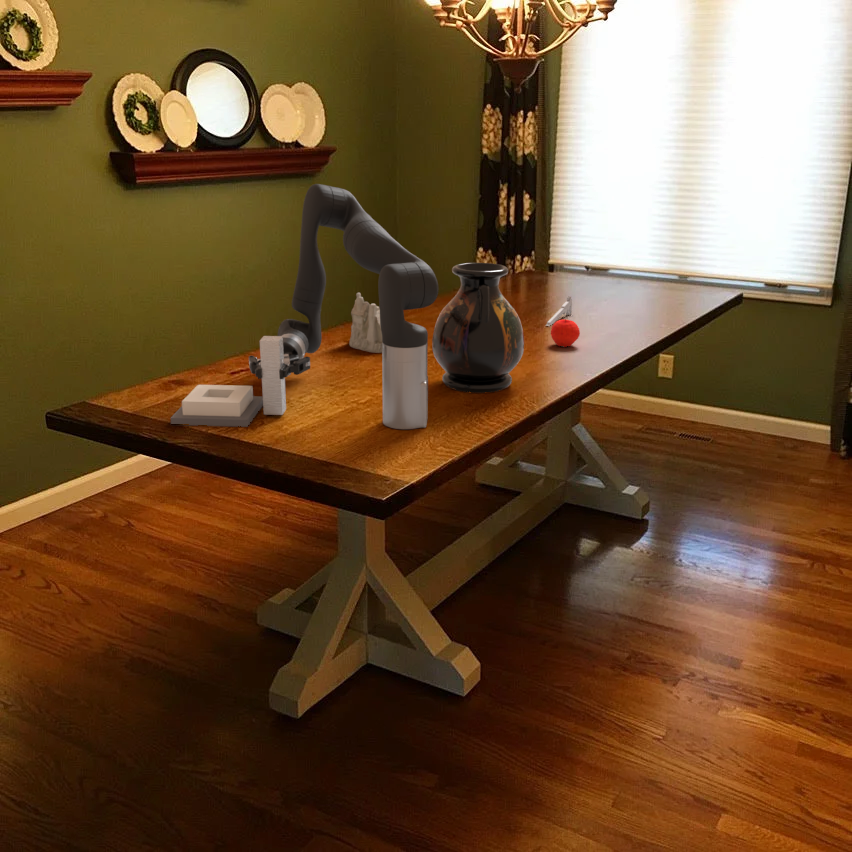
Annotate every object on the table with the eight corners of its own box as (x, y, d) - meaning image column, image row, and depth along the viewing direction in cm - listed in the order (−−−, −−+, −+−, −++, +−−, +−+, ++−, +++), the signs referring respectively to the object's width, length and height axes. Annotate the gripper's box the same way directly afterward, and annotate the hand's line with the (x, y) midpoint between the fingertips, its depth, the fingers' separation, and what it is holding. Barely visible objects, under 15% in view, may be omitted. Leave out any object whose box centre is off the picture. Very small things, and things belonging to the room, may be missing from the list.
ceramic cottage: (374, 354, 247) (375, 297, 243) (338, 344, 259) (338, 290, 255) (419, 349, 256) (421, 294, 252) (383, 339, 268) (384, 287, 264)
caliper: (568, 314, 296) (569, 295, 294) (571, 315, 296) (572, 295, 294) (545, 327, 279) (546, 306, 277) (548, 328, 279) (549, 307, 277)
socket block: (264, 402, 207) (263, 383, 206) (247, 426, 192) (246, 405, 190) (193, 401, 208) (191, 381, 206) (171, 424, 193) (169, 404, 191)
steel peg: (286, 408, 201) (282, 336, 195) (282, 414, 197) (278, 340, 192) (267, 408, 201) (263, 335, 196) (263, 414, 197) (259, 340, 192)
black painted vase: (529, 397, 212) (535, 275, 203) (435, 399, 211) (436, 275, 202) (514, 371, 233) (519, 259, 223) (428, 372, 231) (429, 259, 222)
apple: (584, 347, 256) (586, 320, 254) (563, 351, 252) (564, 324, 250) (565, 341, 263) (566, 315, 260) (543, 344, 258) (545, 318, 256)
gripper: (254, 336, 209) (235, 356, 192) (317, 337, 208) (303, 357, 192) (255, 368, 211) (237, 391, 195) (318, 370, 210) (305, 392, 194)
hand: (270, 374), depth 193 cm, fingers closed on steel peg, 4 cm apart
